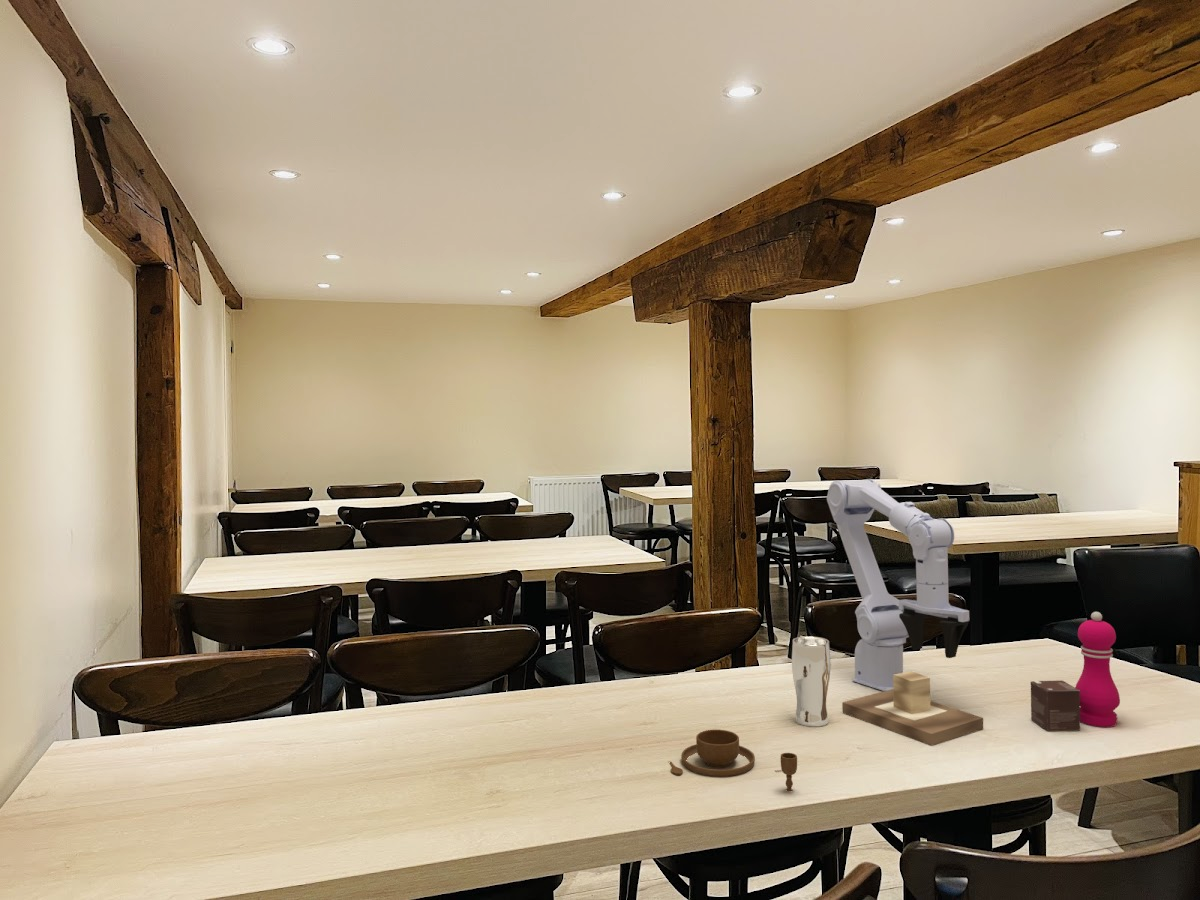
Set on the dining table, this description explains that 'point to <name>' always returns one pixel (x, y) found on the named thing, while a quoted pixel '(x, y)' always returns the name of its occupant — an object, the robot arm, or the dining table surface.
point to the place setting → (727, 756)
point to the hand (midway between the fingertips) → (933, 653)
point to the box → (1055, 705)
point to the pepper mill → (1097, 673)
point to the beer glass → (811, 679)
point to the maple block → (911, 692)
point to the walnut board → (913, 718)
